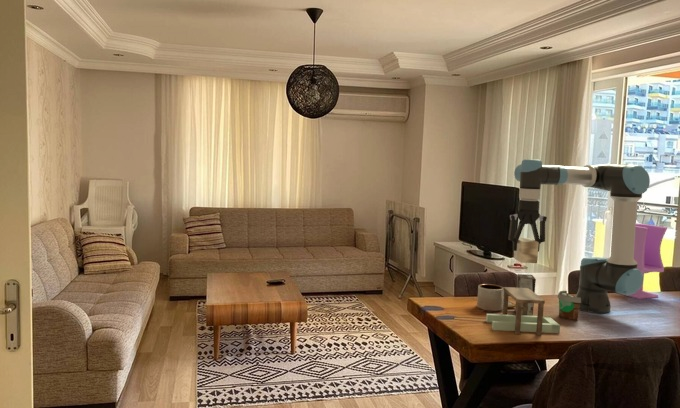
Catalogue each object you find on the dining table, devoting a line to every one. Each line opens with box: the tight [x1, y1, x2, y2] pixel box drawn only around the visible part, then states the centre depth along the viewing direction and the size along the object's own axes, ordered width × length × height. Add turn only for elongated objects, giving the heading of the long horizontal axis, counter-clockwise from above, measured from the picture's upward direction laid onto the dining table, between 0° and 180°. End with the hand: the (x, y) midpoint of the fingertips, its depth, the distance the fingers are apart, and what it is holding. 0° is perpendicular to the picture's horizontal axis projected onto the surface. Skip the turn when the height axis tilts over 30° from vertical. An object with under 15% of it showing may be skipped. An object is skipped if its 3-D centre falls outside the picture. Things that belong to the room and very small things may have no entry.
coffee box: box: [514, 273, 537, 316], centre depth 228 cm, size 9×6×16 cm
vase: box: [614, 222, 668, 300], centre depth 269 cm, size 16×16×35 cm
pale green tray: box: [485, 313, 561, 334], centre depth 210 cm, size 25×12×3 cm, turn 88°
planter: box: [476, 283, 504, 312], centre depth 235 cm, size 11×11×10 cm
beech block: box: [513, 237, 539, 264], centre depth 208 cm, size 6×10×8 cm, turn 178°
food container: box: [556, 290, 581, 322], centre depth 225 cm, size 12×6×10 cm, turn 5°
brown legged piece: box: [502, 286, 545, 336], centre depth 210 cm, size 10×19×13 cm, turn 178°
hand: (525, 259), depth 208 cm, fingers closed on beech block, 6 cm apart
